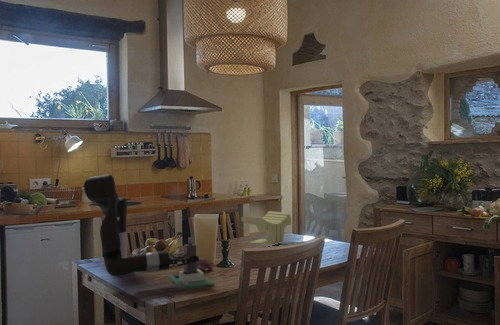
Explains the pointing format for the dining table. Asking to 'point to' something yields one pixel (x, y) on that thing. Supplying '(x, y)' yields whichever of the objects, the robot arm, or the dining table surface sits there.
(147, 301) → the dining table surface
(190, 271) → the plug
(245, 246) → the dining table surface
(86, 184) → the robot arm
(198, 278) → the circuit board
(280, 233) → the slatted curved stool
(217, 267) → the dining table surface
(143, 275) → the dining table surface
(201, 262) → the video game controller
